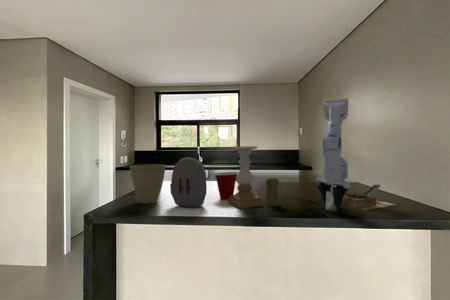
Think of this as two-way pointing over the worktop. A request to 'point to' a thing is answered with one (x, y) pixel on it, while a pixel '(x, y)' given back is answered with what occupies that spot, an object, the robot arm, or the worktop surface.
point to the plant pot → (147, 181)
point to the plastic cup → (226, 184)
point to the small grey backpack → (188, 183)
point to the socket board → (363, 202)
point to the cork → (272, 192)
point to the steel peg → (330, 201)
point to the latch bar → (372, 190)
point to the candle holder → (244, 182)
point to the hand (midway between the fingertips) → (332, 204)
